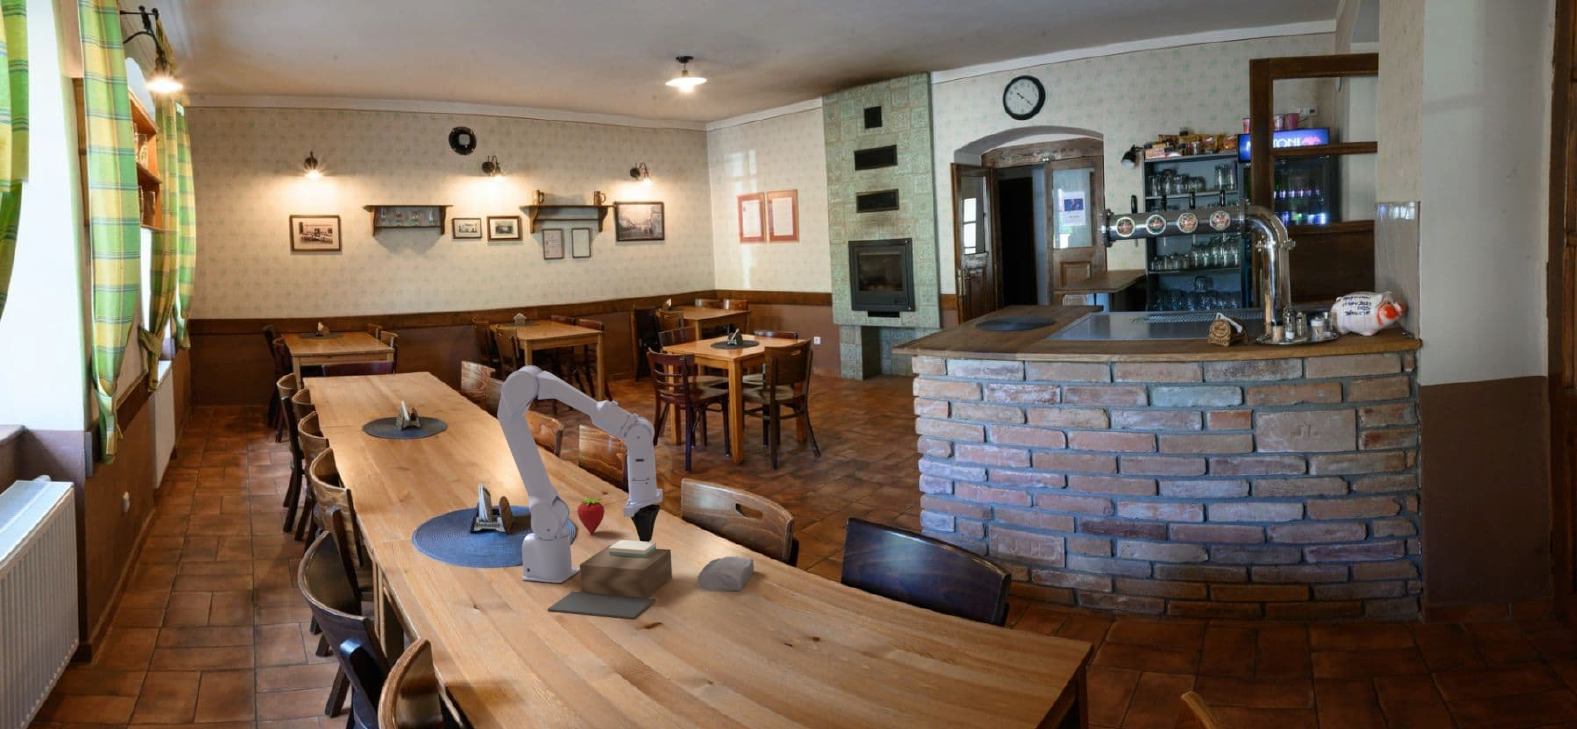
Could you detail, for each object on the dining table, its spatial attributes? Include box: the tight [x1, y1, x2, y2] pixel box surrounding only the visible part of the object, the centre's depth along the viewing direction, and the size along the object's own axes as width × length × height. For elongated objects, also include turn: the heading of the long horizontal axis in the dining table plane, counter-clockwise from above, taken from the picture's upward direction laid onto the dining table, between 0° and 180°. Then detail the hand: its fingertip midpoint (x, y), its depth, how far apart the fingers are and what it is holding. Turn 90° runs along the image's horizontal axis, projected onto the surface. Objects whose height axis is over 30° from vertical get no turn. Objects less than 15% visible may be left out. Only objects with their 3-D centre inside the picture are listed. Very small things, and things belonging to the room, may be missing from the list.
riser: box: [579, 544, 673, 598], centre depth 184 cm, size 14×12×6 cm
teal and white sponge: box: [609, 539, 657, 558], centre depth 186 cm, size 8×5×2 cm, turn 72°
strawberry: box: [576, 492, 605, 534], centre depth 219 cm, size 6×8×10 cm
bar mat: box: [547, 590, 656, 620], centre depth 174 cm, size 18×9×1 cm, turn 72°
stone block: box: [697, 556, 755, 592], centre depth 185 cm, size 12×5×10 cm
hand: (645, 540), depth 192 cm, fingers closed
